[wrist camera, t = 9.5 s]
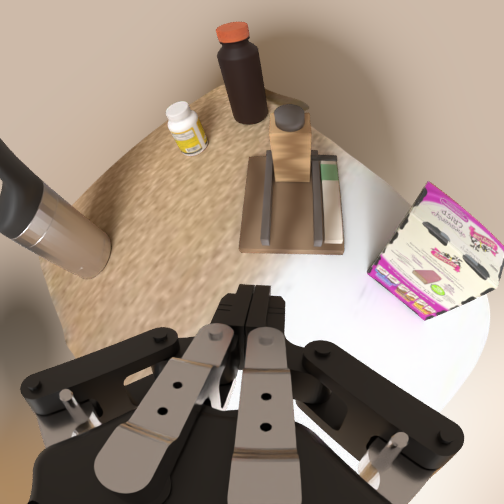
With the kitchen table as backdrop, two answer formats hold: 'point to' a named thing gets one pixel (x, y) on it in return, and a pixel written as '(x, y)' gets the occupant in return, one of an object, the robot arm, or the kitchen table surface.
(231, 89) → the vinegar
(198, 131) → the supplement bottle
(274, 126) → the block
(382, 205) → the kitchen table surface
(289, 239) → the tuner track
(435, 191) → the candy bar box
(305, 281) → the kitchen table surface
